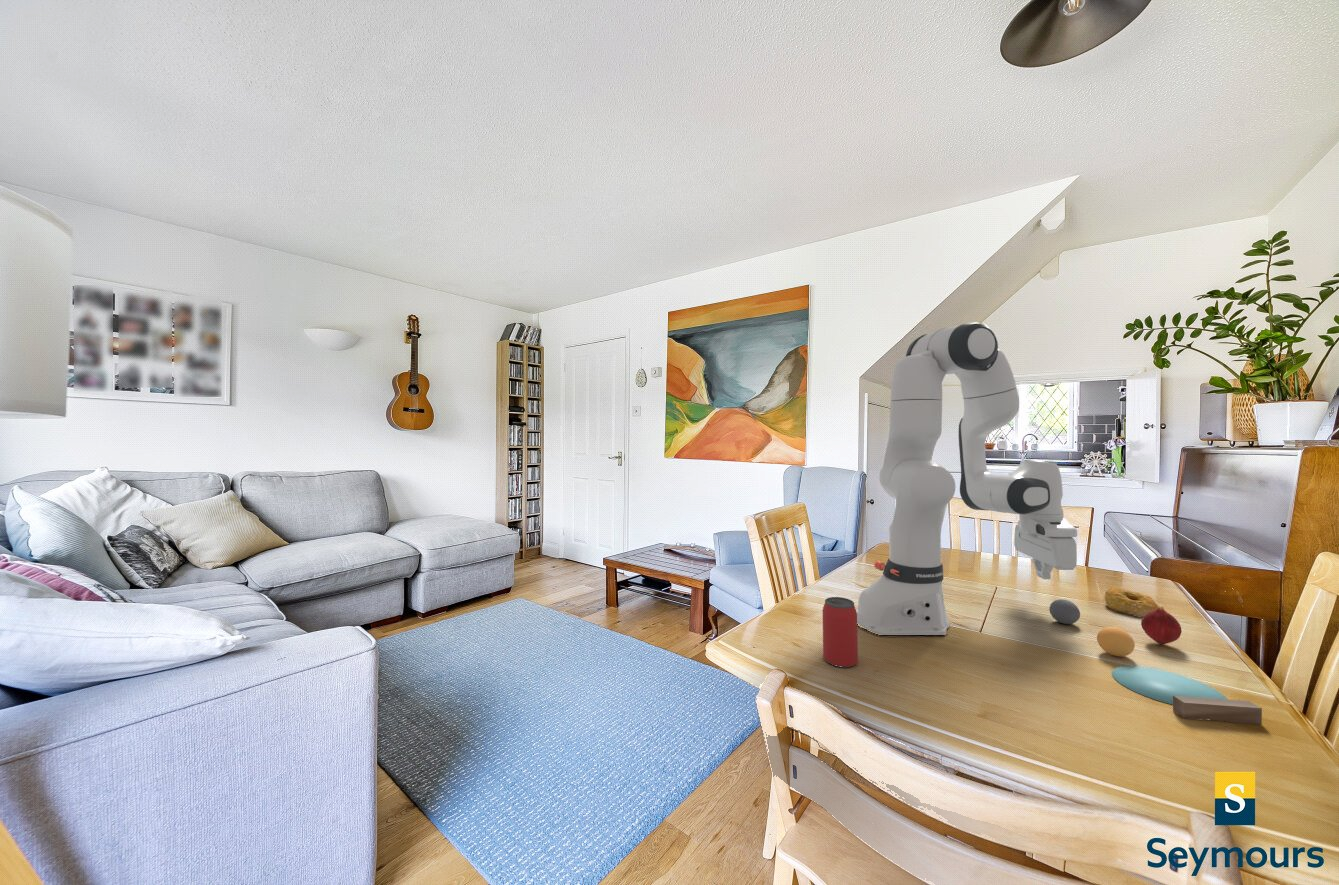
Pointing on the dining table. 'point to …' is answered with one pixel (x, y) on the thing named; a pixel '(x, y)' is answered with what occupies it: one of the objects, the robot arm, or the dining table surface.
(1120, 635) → the orange ball
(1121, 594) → the bagel
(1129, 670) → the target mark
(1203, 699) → the wall
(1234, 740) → the dining table surface
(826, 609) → the beer can
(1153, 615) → the onion
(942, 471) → the robot arm
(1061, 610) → the grey rubber ball
